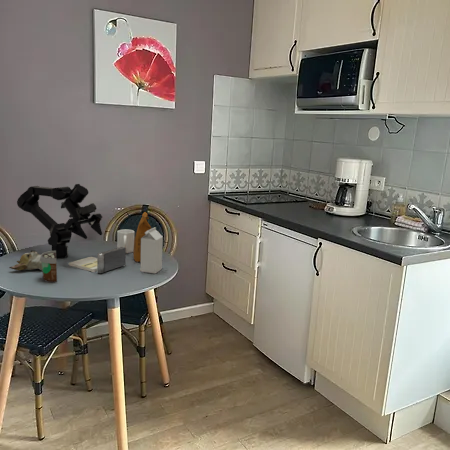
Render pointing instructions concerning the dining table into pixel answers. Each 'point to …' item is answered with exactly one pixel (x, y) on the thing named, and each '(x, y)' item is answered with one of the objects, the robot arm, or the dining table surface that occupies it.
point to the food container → (49, 266)
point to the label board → (85, 264)
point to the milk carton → (151, 251)
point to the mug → (125, 239)
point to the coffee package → (140, 236)
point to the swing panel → (111, 259)
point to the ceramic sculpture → (28, 262)
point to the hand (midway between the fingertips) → (94, 236)
